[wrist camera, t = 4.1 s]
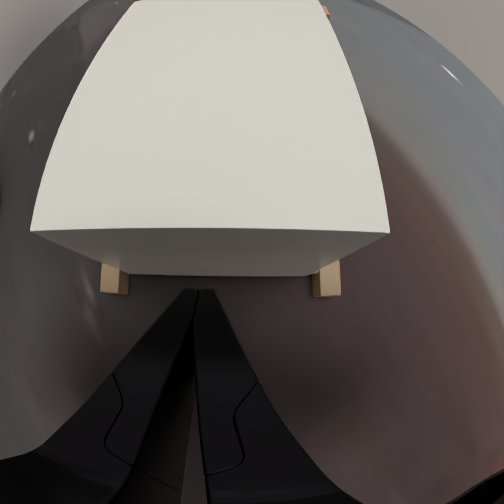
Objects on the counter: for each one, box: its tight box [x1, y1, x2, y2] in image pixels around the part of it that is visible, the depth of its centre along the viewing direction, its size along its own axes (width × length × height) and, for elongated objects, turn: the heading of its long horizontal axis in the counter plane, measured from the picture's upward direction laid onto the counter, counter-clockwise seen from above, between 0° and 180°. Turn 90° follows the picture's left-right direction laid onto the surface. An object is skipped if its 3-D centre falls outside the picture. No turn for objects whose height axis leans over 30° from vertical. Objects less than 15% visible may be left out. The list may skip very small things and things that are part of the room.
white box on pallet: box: [30, 0, 390, 276], centre depth 11 cm, size 12×9×8 cm
